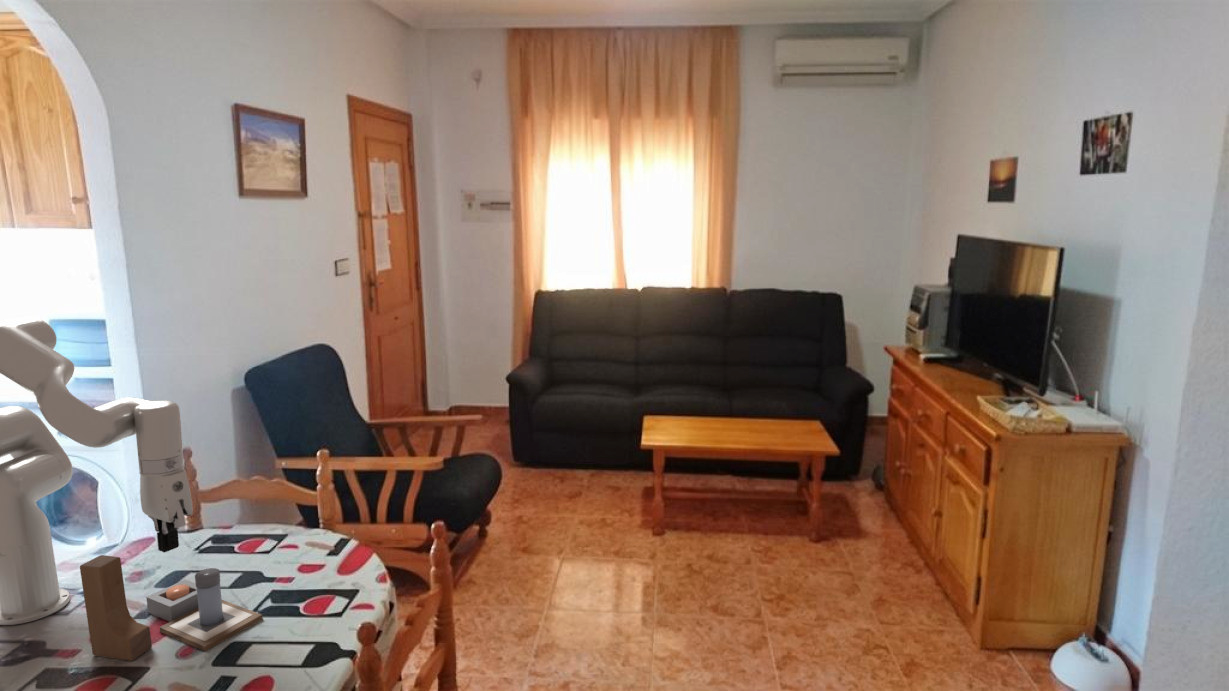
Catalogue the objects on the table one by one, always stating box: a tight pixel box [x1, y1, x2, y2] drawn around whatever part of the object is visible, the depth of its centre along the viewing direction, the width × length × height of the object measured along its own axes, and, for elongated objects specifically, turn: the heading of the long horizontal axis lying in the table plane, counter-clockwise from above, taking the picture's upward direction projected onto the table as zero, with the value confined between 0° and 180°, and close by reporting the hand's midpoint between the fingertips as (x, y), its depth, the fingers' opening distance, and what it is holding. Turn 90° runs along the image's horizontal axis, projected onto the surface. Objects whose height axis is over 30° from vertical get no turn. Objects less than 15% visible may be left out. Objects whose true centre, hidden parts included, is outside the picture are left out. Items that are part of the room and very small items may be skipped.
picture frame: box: [159, 599, 264, 652], centre depth 139 cm, size 14×12×1 cm
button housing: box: [146, 579, 198, 623], centre depth 145 cm, size 8×8×4 cm
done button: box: [166, 585, 190, 601], centre depth 145 cm, size 4×4×2 cm
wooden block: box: [79, 554, 153, 662], centre depth 129 cm, size 9×4×18 cm, turn 78°
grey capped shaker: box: [194, 567, 223, 626], centre depth 138 cm, size 4×4×10 cm
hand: (168, 548), depth 143 cm, fingers closed
